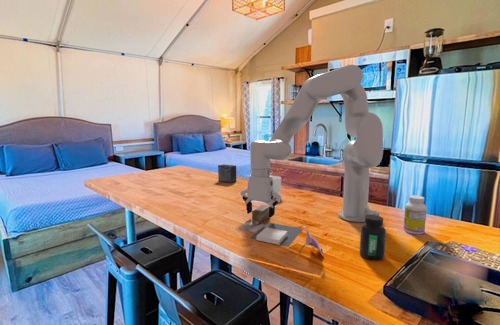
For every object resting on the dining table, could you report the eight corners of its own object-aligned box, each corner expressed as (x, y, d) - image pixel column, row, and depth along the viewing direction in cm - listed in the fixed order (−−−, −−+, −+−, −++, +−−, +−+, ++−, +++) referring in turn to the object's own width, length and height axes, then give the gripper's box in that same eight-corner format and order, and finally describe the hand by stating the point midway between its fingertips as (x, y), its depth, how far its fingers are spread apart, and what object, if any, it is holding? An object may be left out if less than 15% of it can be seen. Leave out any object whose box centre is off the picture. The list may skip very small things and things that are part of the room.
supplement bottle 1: (376, 263, 80) (378, 223, 78) (354, 254, 85) (356, 216, 83) (388, 256, 84) (391, 218, 82) (367, 248, 89) (369, 211, 87)
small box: (237, 181, 183) (236, 165, 181) (231, 183, 177) (230, 166, 176) (224, 179, 188) (223, 163, 187) (217, 181, 183) (217, 165, 181)
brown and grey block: (273, 218, 116) (273, 206, 115) (255, 233, 102) (255, 220, 101) (258, 215, 119) (258, 204, 119) (238, 230, 105) (238, 217, 104)
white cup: (280, 198, 144) (280, 179, 142) (264, 197, 145) (264, 178, 143) (281, 194, 151) (281, 176, 150) (267, 193, 153) (267, 175, 151)
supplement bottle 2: (405, 226, 107) (408, 193, 104) (425, 230, 102) (429, 196, 100) (401, 232, 101) (404, 197, 99) (422, 236, 97) (426, 200, 95)
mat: (303, 229, 104) (303, 228, 104) (288, 247, 90) (288, 246, 90) (268, 223, 111) (268, 222, 111) (249, 239, 97) (249, 238, 97)
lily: (316, 272, 78) (333, 242, 77) (280, 247, 83) (296, 219, 82) (322, 264, 89) (337, 238, 88) (290, 243, 94) (304, 218, 93)
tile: (287, 231, 98) (278, 240, 91) (287, 236, 98) (278, 245, 91) (266, 227, 101) (256, 235, 94) (266, 231, 102) (256, 240, 95)
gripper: (284, 172, 110) (284, 214, 112) (245, 169, 117) (245, 208, 120) (277, 176, 103) (276, 221, 106) (236, 172, 111) (236, 214, 114)
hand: (260, 214), depth 113 cm, fingers open, 9 cm apart
